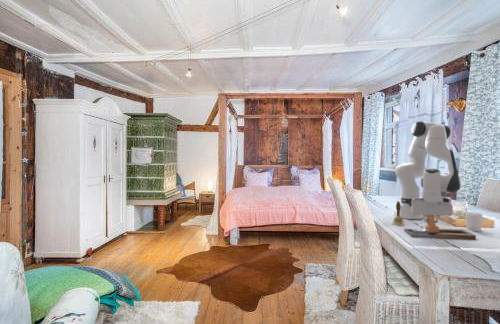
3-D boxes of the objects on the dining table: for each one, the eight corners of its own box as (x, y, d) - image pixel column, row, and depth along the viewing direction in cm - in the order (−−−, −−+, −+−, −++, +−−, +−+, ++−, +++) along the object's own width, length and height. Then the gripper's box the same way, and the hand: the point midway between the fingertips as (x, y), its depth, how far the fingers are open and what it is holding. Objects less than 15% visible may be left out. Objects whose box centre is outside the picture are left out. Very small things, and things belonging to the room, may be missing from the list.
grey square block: (410, 233, 164) (410, 228, 164) (418, 234, 163) (418, 228, 163) (413, 235, 160) (413, 230, 160) (421, 236, 159) (421, 230, 159)
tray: (404, 232, 168) (404, 228, 168) (426, 233, 166) (426, 229, 166) (411, 239, 156) (411, 234, 156) (436, 240, 154) (436, 235, 154)
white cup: (480, 232, 166) (480, 215, 166) (463, 229, 172) (464, 213, 172) (483, 230, 171) (483, 213, 171) (467, 227, 177) (467, 211, 177)
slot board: (425, 233, 167) (425, 227, 167) (462, 234, 163) (462, 228, 163) (436, 240, 153) (436, 234, 153) (476, 242, 150) (476, 236, 149)
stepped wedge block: (425, 230, 163) (423, 213, 163) (435, 229, 162) (432, 212, 162) (429, 232, 158) (426, 215, 158) (439, 231, 157) (436, 214, 157)
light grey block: (418, 234, 163) (418, 228, 163) (426, 234, 162) (426, 228, 162) (421, 236, 159) (421, 230, 159) (429, 236, 158) (429, 230, 158)
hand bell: (406, 228, 178) (406, 202, 178) (392, 227, 181) (392, 202, 180) (404, 224, 186) (404, 200, 185) (390, 223, 189) (390, 200, 188)
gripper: (413, 198, 158) (412, 223, 159) (454, 199, 154) (453, 224, 155) (409, 196, 164) (408, 220, 165) (448, 197, 160) (448, 221, 161)
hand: (431, 222), depth 160 cm, fingers closed on stepped wedge block, 3 cm apart
